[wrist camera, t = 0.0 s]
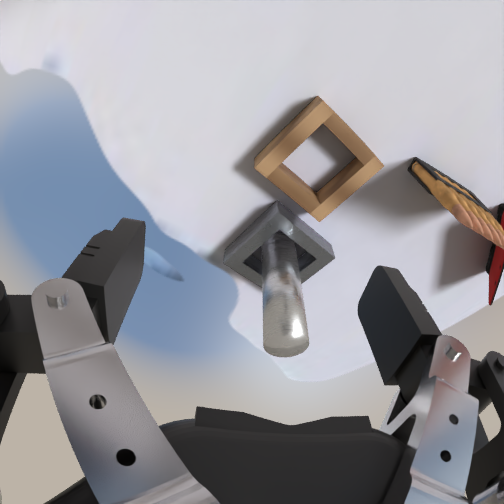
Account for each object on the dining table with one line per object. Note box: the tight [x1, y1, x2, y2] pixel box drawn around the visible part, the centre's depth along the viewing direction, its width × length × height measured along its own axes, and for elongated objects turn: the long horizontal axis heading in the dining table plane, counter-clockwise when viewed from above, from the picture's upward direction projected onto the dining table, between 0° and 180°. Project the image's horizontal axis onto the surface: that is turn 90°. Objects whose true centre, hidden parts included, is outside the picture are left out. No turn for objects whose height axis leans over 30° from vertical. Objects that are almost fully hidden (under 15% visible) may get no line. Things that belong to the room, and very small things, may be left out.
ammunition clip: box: [408, 157, 504, 249], centre depth 27 cm, size 11×2×12 cm, turn 70°
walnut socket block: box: [254, 96, 384, 222], centre depth 30 cm, size 9×9×2 cm
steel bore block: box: [223, 200, 335, 288], centre depth 37 cm, size 9×9×2 cm
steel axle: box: [262, 233, 309, 357], centre depth 33 cm, size 4×4×14 cm
